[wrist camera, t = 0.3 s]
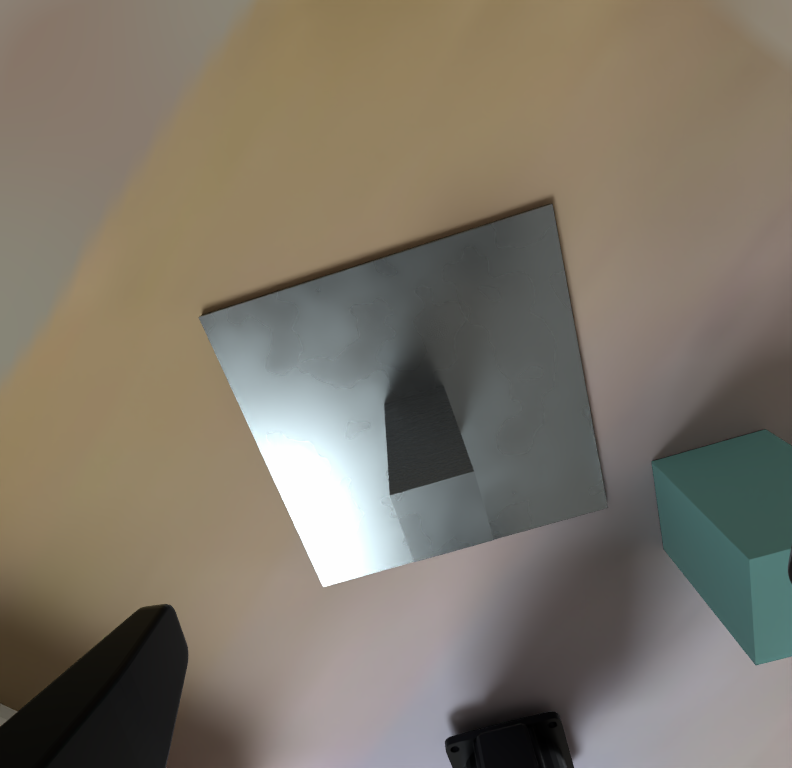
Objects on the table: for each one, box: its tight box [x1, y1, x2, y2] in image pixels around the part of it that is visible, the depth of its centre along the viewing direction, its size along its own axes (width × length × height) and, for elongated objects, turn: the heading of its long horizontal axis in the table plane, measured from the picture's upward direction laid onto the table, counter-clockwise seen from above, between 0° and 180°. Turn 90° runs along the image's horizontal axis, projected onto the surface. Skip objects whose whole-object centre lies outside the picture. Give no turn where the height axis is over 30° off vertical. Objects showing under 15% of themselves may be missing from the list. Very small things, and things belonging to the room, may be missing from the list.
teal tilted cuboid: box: [652, 429, 792, 665], centre depth 21 cm, size 5×5×7 cm
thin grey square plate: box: [199, 204, 608, 587], centre depth 19 cm, size 14×14×7 cm
